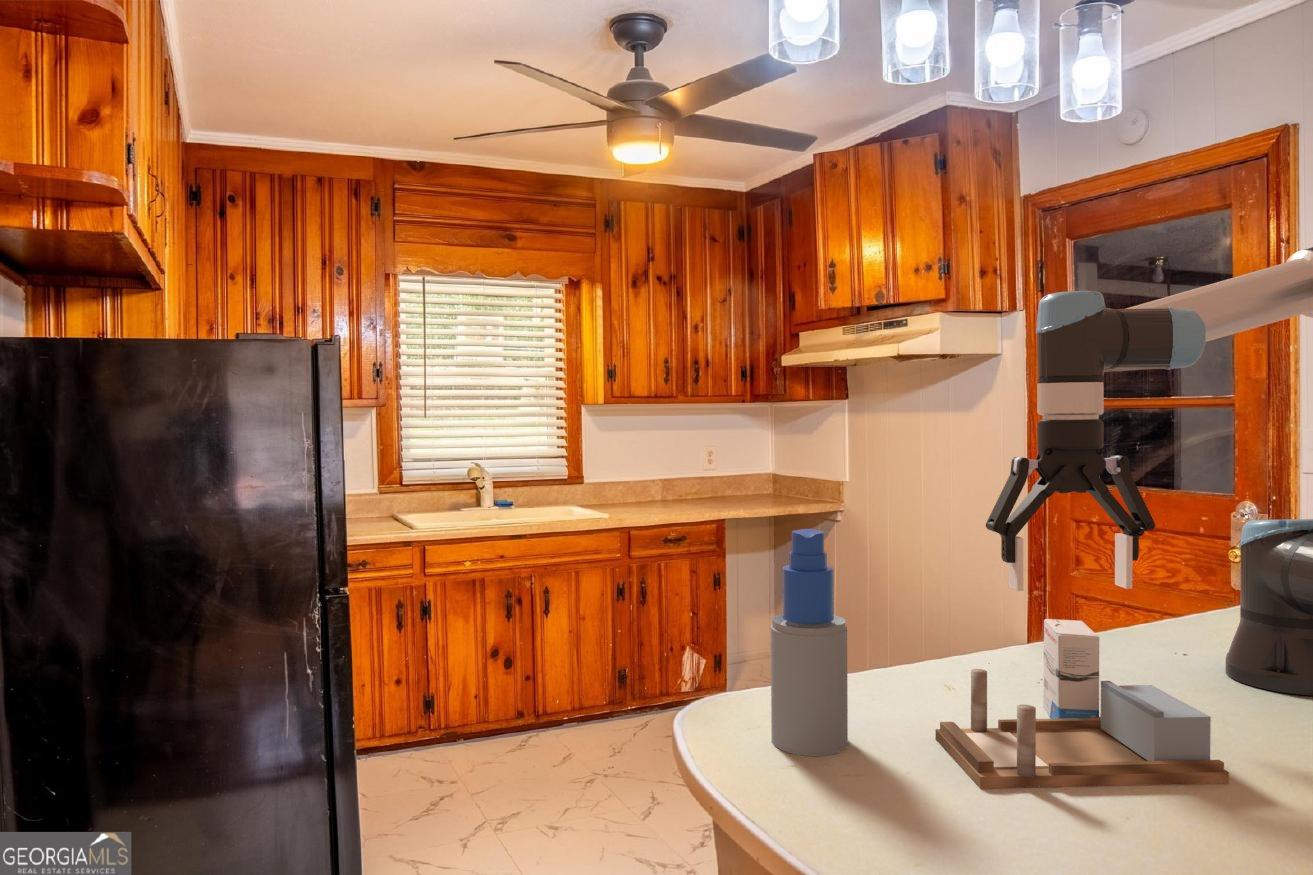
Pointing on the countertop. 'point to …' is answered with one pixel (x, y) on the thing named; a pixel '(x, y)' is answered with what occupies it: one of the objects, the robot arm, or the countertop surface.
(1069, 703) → the ink box
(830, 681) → the spray bottle
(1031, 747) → the tray
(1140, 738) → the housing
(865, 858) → the countertop surface
